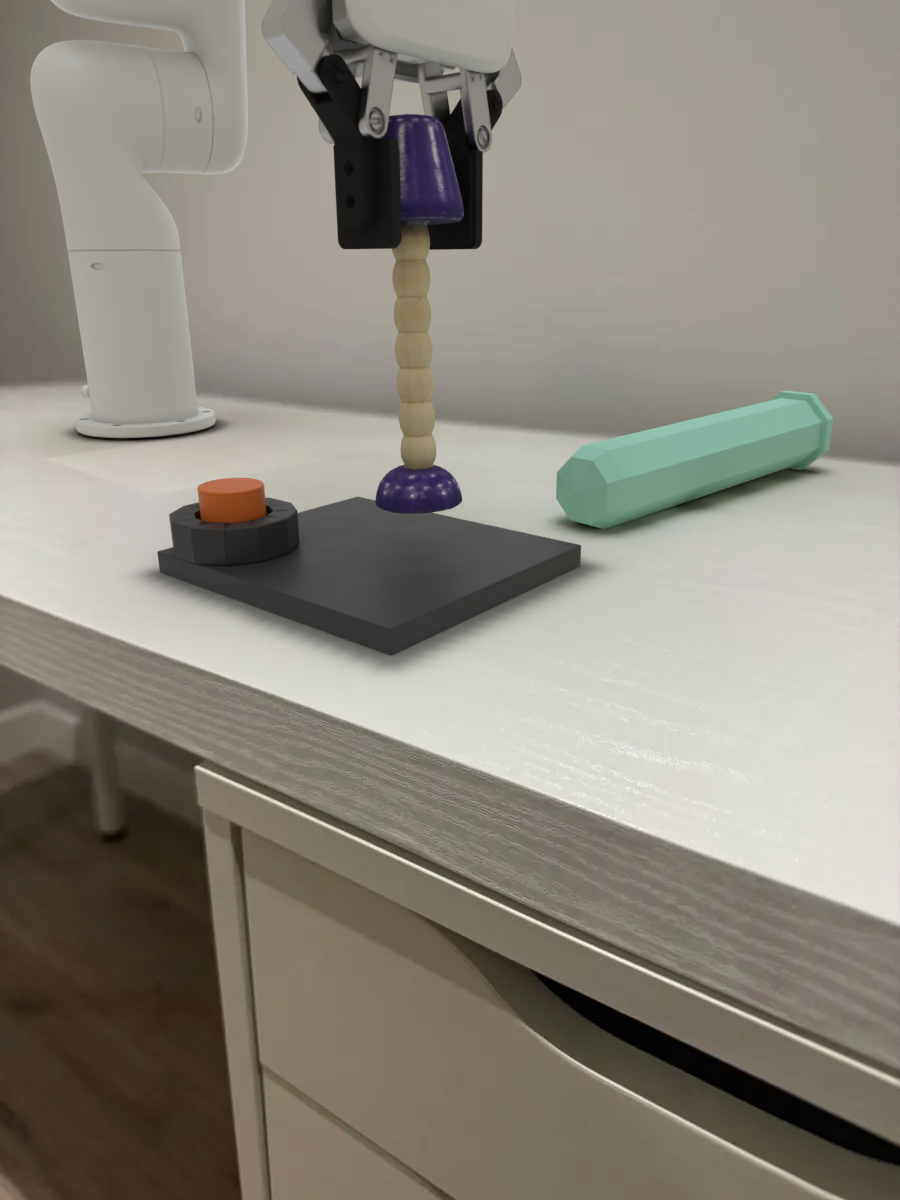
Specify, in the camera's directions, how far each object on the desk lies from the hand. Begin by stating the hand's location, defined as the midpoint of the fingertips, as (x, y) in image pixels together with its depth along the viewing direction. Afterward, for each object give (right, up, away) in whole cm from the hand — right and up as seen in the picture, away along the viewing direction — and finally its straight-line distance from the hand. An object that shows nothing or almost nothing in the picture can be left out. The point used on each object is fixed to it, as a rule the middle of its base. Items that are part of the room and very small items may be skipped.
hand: (412, 244), depth 39 cm
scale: (-2, -14, +6) cm, 15 cm away
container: (+18, -9, +20) cm, 28 cm away
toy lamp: (0, -11, +4) cm, 12 cm away
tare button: (-9, -12, +5) cm, 16 cm away
